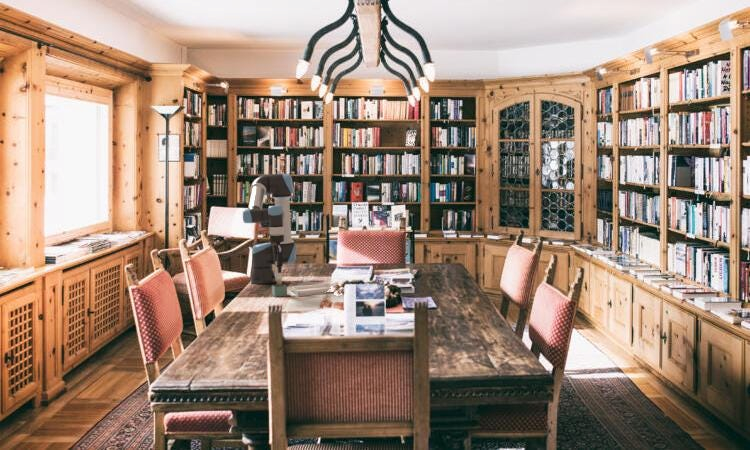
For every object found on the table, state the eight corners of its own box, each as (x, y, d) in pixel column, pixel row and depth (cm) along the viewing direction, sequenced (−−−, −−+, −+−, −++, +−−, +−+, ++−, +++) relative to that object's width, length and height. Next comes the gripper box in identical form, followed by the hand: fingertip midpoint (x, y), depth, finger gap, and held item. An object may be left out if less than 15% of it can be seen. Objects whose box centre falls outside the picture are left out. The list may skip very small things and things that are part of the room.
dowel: (276, 291, 369) (274, 261, 368) (281, 290, 370) (279, 261, 369) (277, 291, 366) (276, 262, 365) (282, 291, 368) (281, 261, 366)
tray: (290, 291, 377) (290, 287, 377) (329, 287, 385) (328, 283, 385) (298, 296, 363) (298, 291, 362) (338, 291, 371) (337, 287, 370)
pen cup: (272, 294, 370) (271, 285, 370) (284, 293, 372) (283, 284, 372) (275, 296, 364) (274, 287, 363) (287, 295, 366) (286, 286, 366)
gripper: (266, 233, 371) (268, 276, 374) (273, 236, 357) (275, 281, 359) (280, 232, 374) (282, 275, 376) (287, 235, 359) (289, 279, 362)
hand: (278, 278), depth 368 cm, fingers closed on dowel, 3 cm apart
